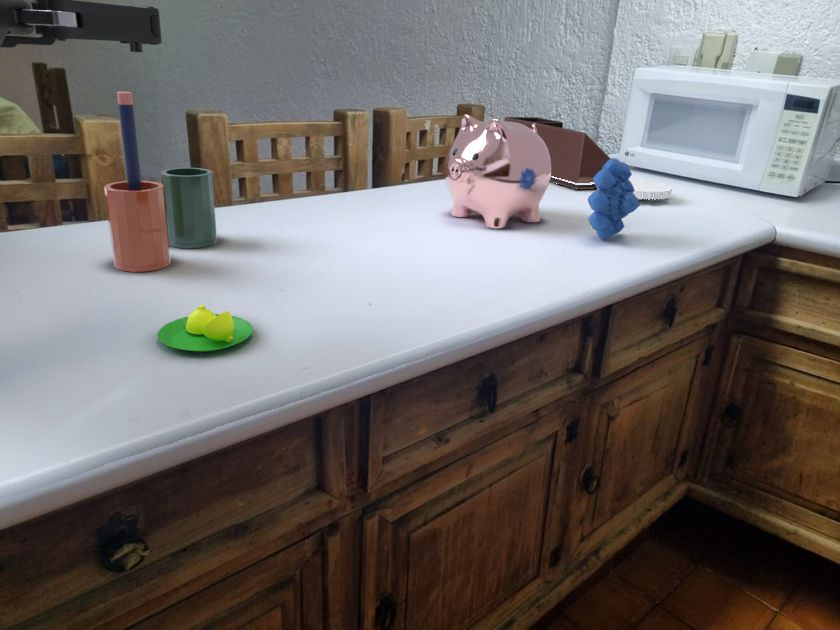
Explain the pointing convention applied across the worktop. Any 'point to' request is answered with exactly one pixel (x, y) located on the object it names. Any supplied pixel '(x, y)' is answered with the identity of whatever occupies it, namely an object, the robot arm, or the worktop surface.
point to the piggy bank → (497, 171)
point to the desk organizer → (568, 152)
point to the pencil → (129, 140)
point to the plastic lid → (650, 189)
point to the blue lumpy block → (611, 198)
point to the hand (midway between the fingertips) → (73, 23)
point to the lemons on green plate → (205, 331)
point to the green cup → (190, 207)
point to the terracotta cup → (138, 226)
